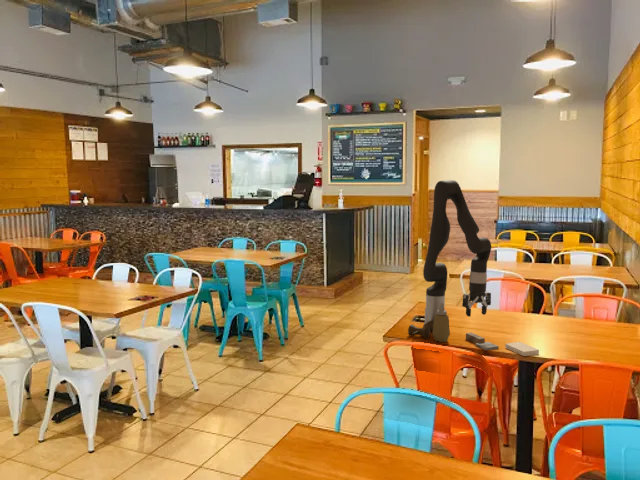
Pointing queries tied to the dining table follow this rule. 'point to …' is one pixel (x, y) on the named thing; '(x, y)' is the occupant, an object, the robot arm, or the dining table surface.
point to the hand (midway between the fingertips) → (476, 315)
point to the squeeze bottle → (441, 325)
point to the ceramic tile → (522, 348)
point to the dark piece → (480, 342)
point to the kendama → (421, 330)
